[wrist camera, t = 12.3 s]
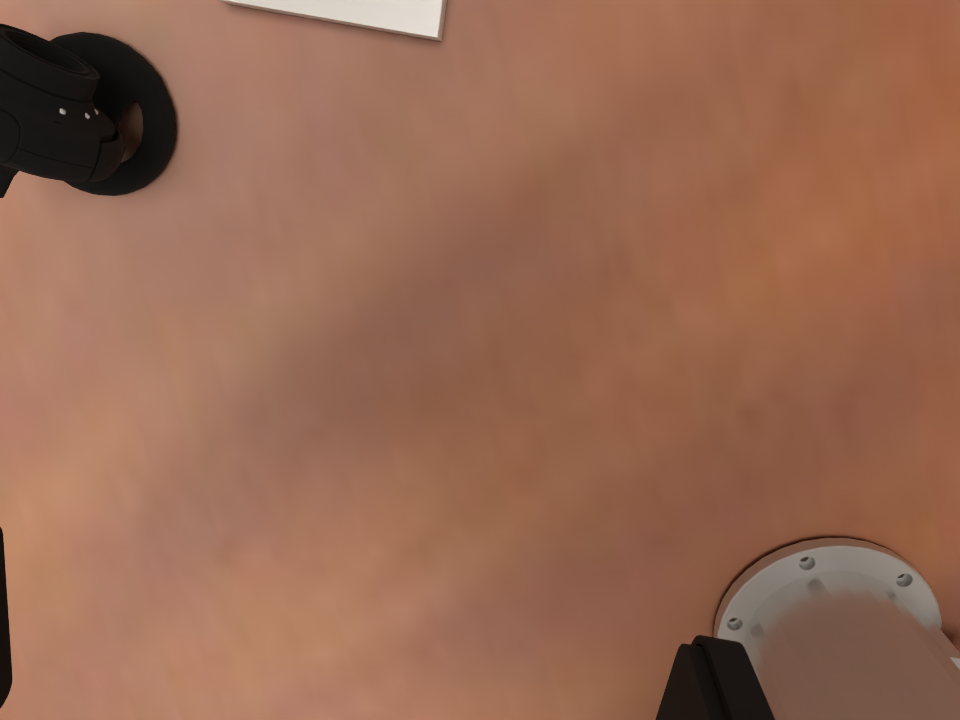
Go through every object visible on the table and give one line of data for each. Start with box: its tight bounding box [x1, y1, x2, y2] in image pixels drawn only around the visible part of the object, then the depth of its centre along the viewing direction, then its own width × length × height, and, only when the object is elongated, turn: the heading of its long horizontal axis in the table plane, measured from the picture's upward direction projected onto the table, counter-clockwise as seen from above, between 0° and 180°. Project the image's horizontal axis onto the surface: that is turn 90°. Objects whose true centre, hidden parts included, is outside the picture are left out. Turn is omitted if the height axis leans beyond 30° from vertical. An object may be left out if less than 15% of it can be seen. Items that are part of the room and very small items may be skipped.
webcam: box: [0, 24, 176, 198], centre depth 30 cm, size 8×8×10 cm
